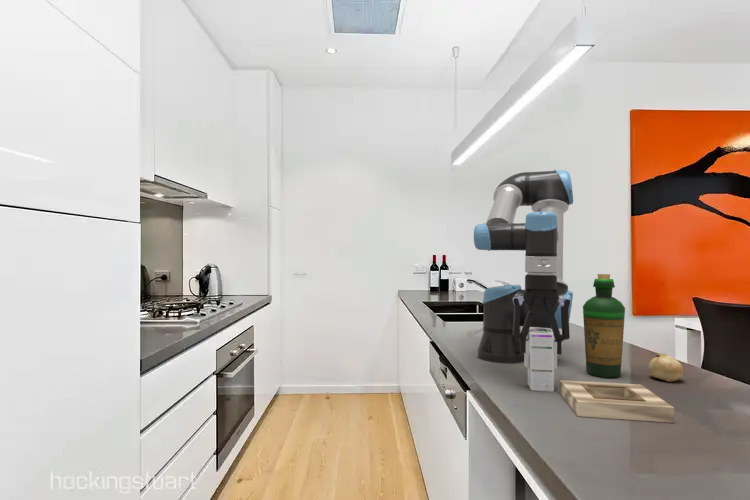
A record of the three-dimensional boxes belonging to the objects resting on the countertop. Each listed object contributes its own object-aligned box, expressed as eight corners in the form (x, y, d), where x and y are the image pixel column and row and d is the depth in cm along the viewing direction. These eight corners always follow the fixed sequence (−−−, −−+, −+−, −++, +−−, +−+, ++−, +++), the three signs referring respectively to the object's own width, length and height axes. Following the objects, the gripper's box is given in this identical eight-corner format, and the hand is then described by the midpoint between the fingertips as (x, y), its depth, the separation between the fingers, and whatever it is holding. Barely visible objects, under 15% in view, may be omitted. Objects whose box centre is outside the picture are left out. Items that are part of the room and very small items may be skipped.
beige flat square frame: (559, 392, 108) (559, 379, 108) (640, 397, 105) (640, 383, 105) (578, 416, 93) (578, 400, 93) (673, 422, 90) (673, 406, 90)
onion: (680, 378, 123) (680, 352, 123) (686, 385, 116) (686, 358, 116) (646, 374, 126) (646, 349, 126) (650, 381, 119) (650, 354, 119)
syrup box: (554, 392, 109) (555, 332, 109) (529, 390, 110) (529, 331, 110) (550, 385, 114) (550, 328, 114) (526, 384, 115) (526, 327, 116)
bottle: (584, 377, 122) (585, 274, 122) (580, 368, 132) (580, 273, 132) (629, 381, 119) (629, 275, 119) (621, 371, 129) (621, 273, 129)
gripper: (503, 273, 110) (502, 368, 110) (585, 275, 107) (584, 372, 107) (500, 272, 118) (499, 361, 117) (576, 273, 114) (576, 364, 114)
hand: (540, 366), depth 112 cm, fingers closed on syrup box, 6 cm apart
